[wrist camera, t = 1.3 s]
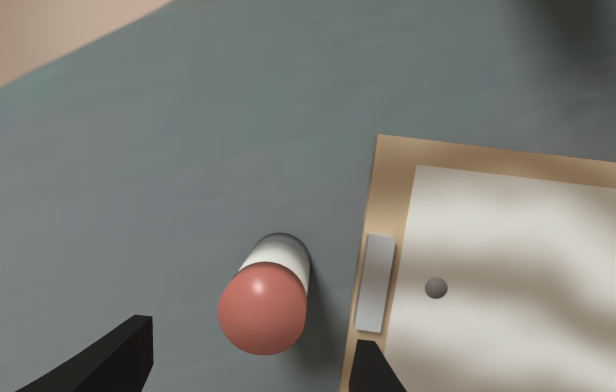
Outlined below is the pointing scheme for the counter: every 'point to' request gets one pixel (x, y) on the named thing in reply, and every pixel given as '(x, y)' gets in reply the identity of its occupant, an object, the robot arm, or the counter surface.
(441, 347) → the clipboard
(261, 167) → the counter surface
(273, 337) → the marker
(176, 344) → the counter surface
